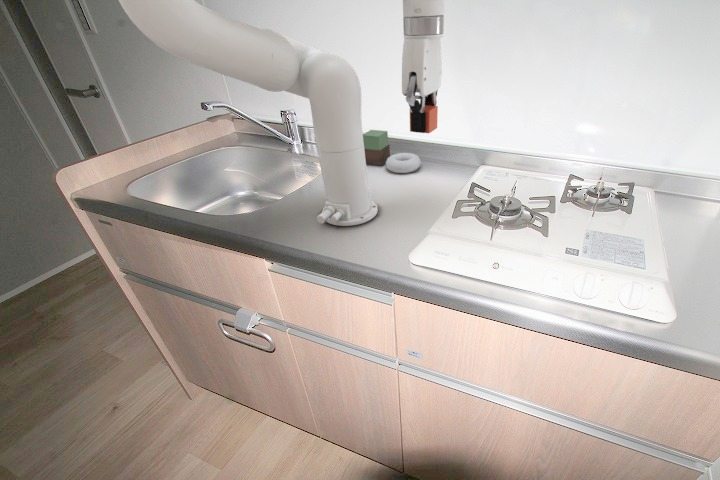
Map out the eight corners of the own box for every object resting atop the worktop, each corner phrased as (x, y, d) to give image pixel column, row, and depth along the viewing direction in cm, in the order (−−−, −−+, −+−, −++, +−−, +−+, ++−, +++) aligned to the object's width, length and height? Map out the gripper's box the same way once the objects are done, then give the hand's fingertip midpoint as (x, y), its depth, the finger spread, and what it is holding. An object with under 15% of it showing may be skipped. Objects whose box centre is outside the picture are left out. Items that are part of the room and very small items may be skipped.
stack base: (381, 166, 107) (380, 151, 104) (363, 164, 109) (362, 149, 106) (390, 159, 111) (389, 144, 109) (373, 157, 113) (371, 142, 111)
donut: (392, 161, 110) (381, 173, 102) (391, 150, 108) (380, 161, 100) (424, 163, 107) (415, 176, 99) (424, 152, 105) (415, 163, 97)
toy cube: (429, 133, 76) (429, 110, 74) (409, 131, 78) (409, 109, 75) (437, 127, 80) (437, 106, 77) (418, 126, 81) (418, 104, 79)
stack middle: (379, 150, 104) (378, 136, 102) (363, 148, 107) (361, 134, 104) (388, 144, 108) (387, 131, 106) (372, 143, 111) (371, 129, 108)
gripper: (423, 26, 76) (423, 118, 86) (384, 31, 64) (390, 138, 74) (457, 25, 73) (453, 120, 83) (423, 31, 61) (423, 141, 71)
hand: (423, 127), depth 79 cm, fingers closed on toy cube, 4 cm apart
